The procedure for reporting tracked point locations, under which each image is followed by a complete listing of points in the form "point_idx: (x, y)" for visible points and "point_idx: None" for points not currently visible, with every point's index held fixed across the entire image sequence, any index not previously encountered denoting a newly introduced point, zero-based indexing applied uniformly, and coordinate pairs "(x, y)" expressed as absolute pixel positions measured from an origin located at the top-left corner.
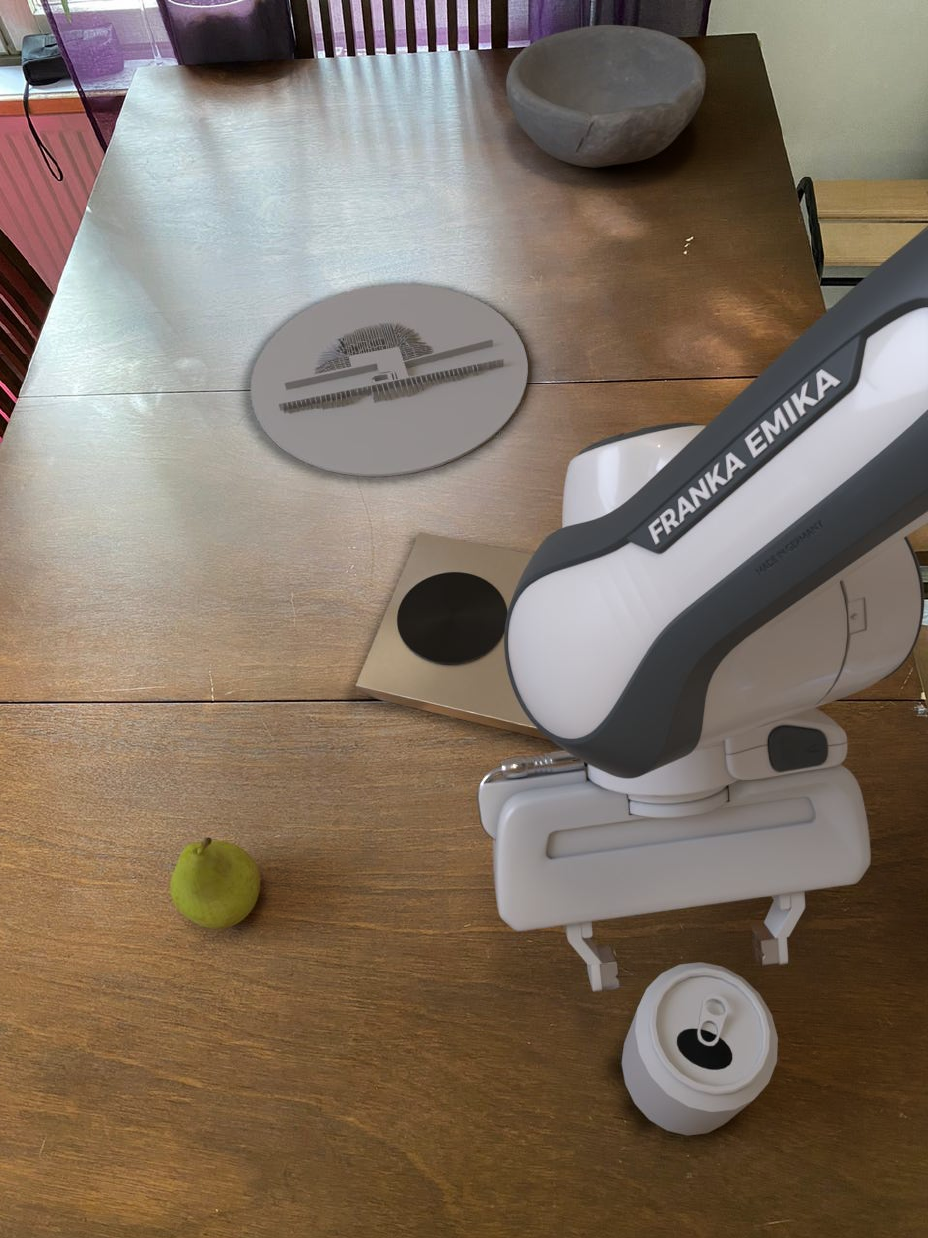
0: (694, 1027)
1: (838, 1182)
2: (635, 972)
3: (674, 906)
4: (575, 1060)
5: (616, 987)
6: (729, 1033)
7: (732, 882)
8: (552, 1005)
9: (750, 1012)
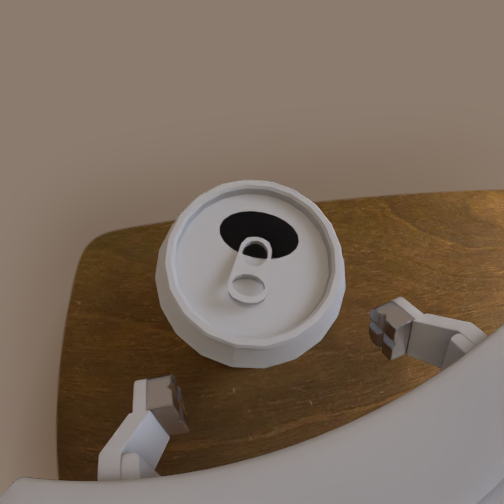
0: (275, 260)
1: (127, 253)
2: (290, 389)
3: (367, 421)
4: None
5: (375, 308)
6: (223, 259)
7: (246, 501)
8: (356, 345)
9: (191, 292)
